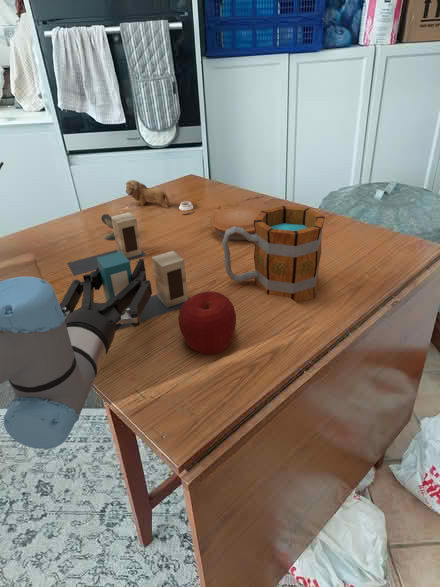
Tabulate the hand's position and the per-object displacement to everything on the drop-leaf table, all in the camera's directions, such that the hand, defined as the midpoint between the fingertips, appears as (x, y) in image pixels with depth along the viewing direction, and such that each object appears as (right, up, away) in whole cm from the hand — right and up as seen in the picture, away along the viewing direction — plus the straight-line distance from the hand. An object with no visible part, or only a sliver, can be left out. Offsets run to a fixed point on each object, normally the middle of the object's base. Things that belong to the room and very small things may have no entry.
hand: (124, 265), depth 80 cm
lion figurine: (-3, +19, +48) cm, 52 cm away
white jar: (+8, +18, +45) cm, 49 cm away
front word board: (+4, -9, +3) cm, 10 cm away
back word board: (-8, +1, +20) cm, 22 cm away
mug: (+29, -4, +9) cm, 30 cm away
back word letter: (-4, +4, +22) cm, 22 cm away
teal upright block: (0, -7, -2) cm, 7 cm away
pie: (+23, +11, +33) cm, 41 cm away
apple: (+16, -15, -6) cm, 23 cm away
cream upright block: (+9, -6, +4) cm, 11 cm away
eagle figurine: (-9, +9, +32) cm, 34 cm away
